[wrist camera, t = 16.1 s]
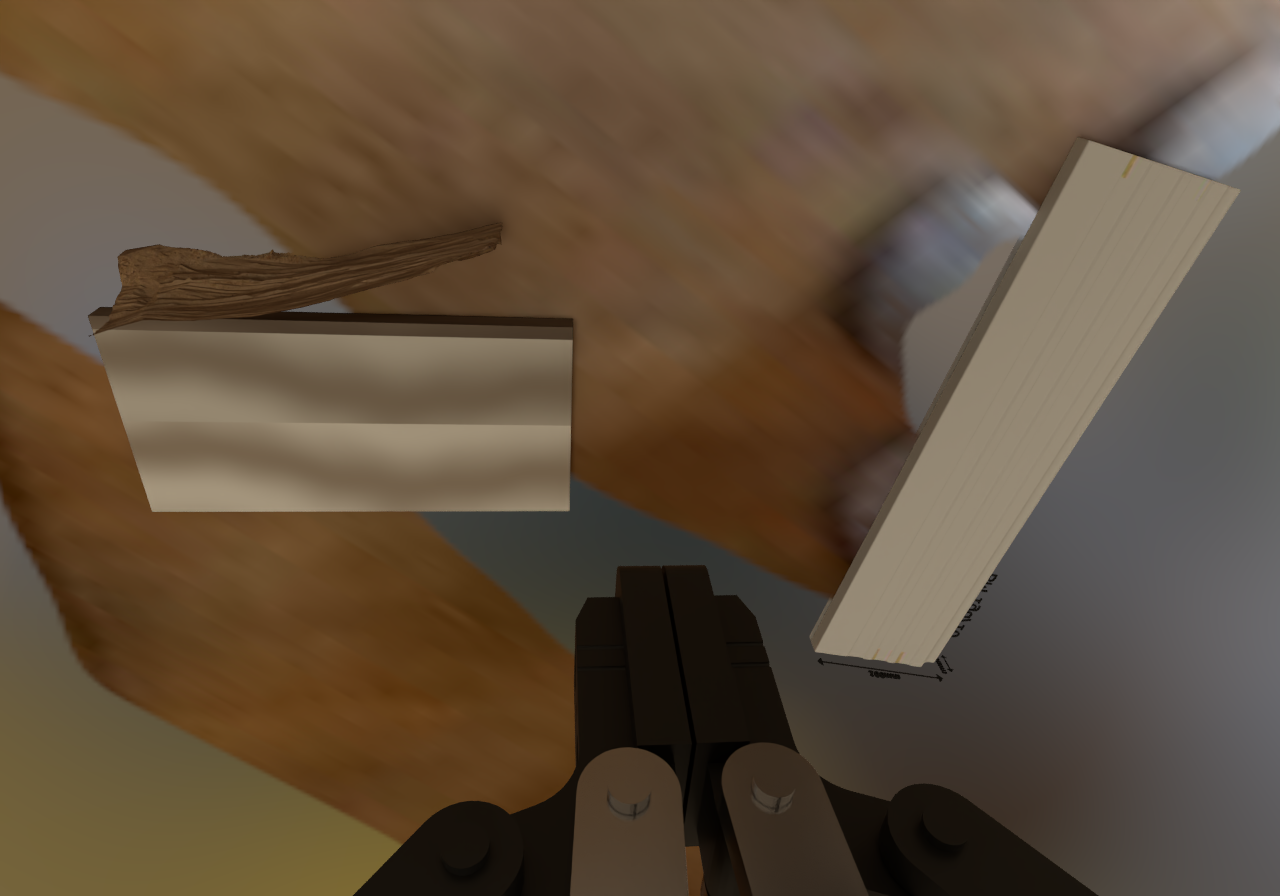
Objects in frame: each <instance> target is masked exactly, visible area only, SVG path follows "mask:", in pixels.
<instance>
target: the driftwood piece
mask: <svg viewBox="0 0 1280 896" xmlns="http://www.w3.org/2000/svg"><path fill="white" fill-rule="evenodd" d="M501 230H502V223H496V224H492V225H487V226H483V227H481V228H477V229H472V230H469V231H464V232H460V233H455V234H451V235H444V236H439V237H434V238H427V239H420V240H413V241H404V242H397V243H391V244H384V245H379V246H374V247H371V248H368V249H364V250H362V251H359V252H356V253H353V254H349V255H344V256H339V257H331V258H327V259H319V258H311V257H306V256H295V255H294V256H290V255H289V254H288V253H276V252H274V251H273V250H271V251H270V252H269V253H265V254H261V255H256V256H255V255H242V256H228V257H227V256H223V257H222V256H221V255H219V254H216V253H212V252H210V251H207V250H206V251H204V250H198V249H190V248H174V247H167V246H162V245H160V244H159V245H153V246H147V247H141V248H135V249H129V250H125V251H124V252H123V253H122V254H120V255H119V256H118V268H119V272H120V277H121V282H122V289H121V292H120V294H119V295H118V296H117V298H116V301H115V305H113V311H112V312H111V314H110V315H109V318H110V319H109V321H108V322H106V323H105V324H104V326H102V328H100V329H99V330H96V332H95V333H93V335H95V334H98V333H101V332H104V331H107V330H111V329H113V328H116V327H120V326H124V325H127V324H131V323H135V322H139V321H142V320H160V321H196V320H213V319H223V318H240V317H252V316H259V315H264V314H269V313H275V312H281V311H286V310H291V309H296V308H301V307H305V306H309V305H313V304H317V303H321V302H325V301H330V300H332V299H335V298H338V297H342V296H346V295H350V294H353V293H357V292H360V291H364V290H367V289H371V288H375V287H379V286H383V285H387V284H392V283H396V282H401V281H404V280H408V279H411V278H413V277H416V276H420V275H424V274H429V273H432V272H433V271H434V270H435V269H436V268H437V267H438V266H440V265H442V264H445V263H449V262H453V261H456V260H460V261H461V260H466V259H470V258H473V257H476V256H480V255H482V254H484V253H487V252H490V251H493V250H495V248H496V245H497V244H501V236H500V231H501ZM501 245H502V244H501ZM90 336H91V335H90Z"/></svg>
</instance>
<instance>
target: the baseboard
mask: <svg viewBox="0 0 1280 896" xmlns="http://www.w3.org/2000/svg"><path fill="white" fill-rule="evenodd" d="M1240 191H1241V190H1239V189H1236V188H1233V187H1230V186H1228V185H1224V184H1221V183H1218V182H1215V181H1212V180H1209V179H1206V178H1203V177H1200V176H1197V175H1194V174H1191V173H1188V172H1185V171H1182V170H1178V169H1175V168H1172V167H1169V166H1166V165H1163V164H1160V163H1157V162H1154V161H1151V160H1148V159H1145V158H1142V157H1139V156H1136V155H1133V154H1130V153H1127V152H1123V151H1120V150H1117V149H1114V148H1111V147H1108V146H1105V145H1102V144H1099V143H1096V142H1093V141H1090V140H1086V139H1083V138H1080V137H1077V139H1076V141H1075V143H1074V145H1073V147H1072V149H1071V151H1070V152H1069V154H1068V156H1067V158H1066V160H1065V162H1064V164H1063V166H1062V168H1061V169H1060V171H1059V173H1058V175H1057V177H1056V179H1055V181H1054V183H1053V185H1052V186H1051V188H1050V190H1049V192H1048V194H1047V196H1046V198H1045V200H1044V202H1043V203H1042V205H1041V207H1040V209H1039V211H1038V213H1037V215H1036V217H1035V218H1034V220H1033V222H1032V224H1031V226H1030V228H1029V230H1028V232H1027V234H1026V235H1025V237H1024V238H1018V240H1017V242H1016V244H1015V246H1014V247H1013V249H1012V251H1011V253H1010V255H1009V257H1008V259H1007V261H1006V263H1005V265H1004V266H1003V268H1002V271H1001V272H1000V274H999V276H998V278H997V280H996V282H995V284H994V285H993V287H992V289H991V291H990V293H989V295H988V297H987V299H986V301H985V303H984V305H983V306H982V308H981V310H980V312H979V314H978V316H977V318H976V320H975V322H974V324H973V326H972V327H971V329H970V331H969V333H968V335H967V337H966V339H965V341H964V343H963V345H962V346H961V348H960V350H959V352H958V354H957V356H956V358H955V360H954V362H953V364H952V365H951V367H950V369H949V371H948V373H947V375H946V377H945V379H944V381H943V383H942V385H941V386H940V388H939V390H938V392H937V394H936V396H935V398H934V400H933V402H932V404H931V406H930V407H929V409H928V411H927V413H926V415H925V417H924V419H923V421H922V423H921V424H920V426H919V428H918V430H917V433H918V434H919V435H920V436H919V438H918V439H917V441H916V443H915V445H914V447H913V449H912V451H911V453H910V455H909V456H908V458H907V460H906V462H905V464H904V466H903V468H902V470H901V472H900V473H899V475H898V477H897V479H896V481H895V483H894V485H893V487H892V489H891V490H890V492H889V494H888V496H887V498H886V500H885V502H884V504H883V506H882V507H881V509H880V511H879V513H878V515H877V517H876V519H875V521H874V523H873V524H872V526H871V528H870V530H869V532H868V534H867V536H866V538H865V540H864V541H863V543H862V545H861V547H860V549H859V551H858V553H857V555H856V557H855V558H854V560H853V562H852V564H851V566H850V568H849V570H848V572H847V574H846V575H845V577H844V579H843V581H842V583H841V585H840V587H839V589H838V591H837V592H836V594H835V596H834V598H833V600H832V599H829V600H828V602H827V604H826V605H825V607H824V609H823V611H822V613H821V615H820V617H819V619H818V621H817V623H816V624H815V626H814V628H813V630H812V632H811V634H810V636H809V637H810V640H811V643H812V645H813V648H814V650H815V651H816V652H820V653H828V654H834V655H841V656H855V657H862V658H863V659H868V660H871V659H875V660H882V661H887V662H889V663H895V662H897V663H903V664H909V665H910V666H917V667H921V666H922V665H923V664H924V663H925V662H935V660H937V661H936V662H937V664H938V666H939V667H940V669H941V670H942V673H945V674H947V672H943V671H946V670H943V669H944V668H943V666H942V664H941V662H940V661H939V658H938V656H939V654H940V653H941V651H942V649H943V648H944V646H945V645H946V643H947V642H948V640H949V639H950V637H958V636H959V635H960V633H959V632H958V631H956V630H955V629H956V628H961V629H960V630H963V628H964V627H965V625H963V626H958V625H959V623H960V622H964V621H971V619H969V618H970V617H971V616H972V612H970V611H978V610H979V609H980V607H981V606H978V608H977V606H976V605H975V604H972V603H973V602H974V601H976V602H978V604H980V602H981V601H982V598H980V600H978V599H976V597H977V596H978V594H979V593H980V591H982V592H987V590H983V588H986V586H985V584H988V585H992V583H989V582H993V581H994V580H995V579H996V578H997V576H998V575H996V574H992V573H993V571H994V569H995V568H996V566H997V565H998V563H999V561H1000V560H1001V559H1002V557H1003V555H1004V554H1005V552H1006V551H1007V549H1008V548H1009V546H1010V544H1011V543H1012V542H1013V540H1014V539H1015V537H1016V536H1017V534H1018V533H1019V531H1020V529H1021V528H1022V526H1023V524H1024V523H1025V522H1026V520H1027V519H1028V517H1029V516H1030V514H1031V513H1032V511H1033V509H1034V507H1035V506H1036V505H1037V503H1038V502H1039V500H1040V499H1041V497H1042V496H1043V494H1044V492H1045V491H1046V489H1047V488H1048V486H1049V485H1050V483H1051V482H1052V480H1053V479H1054V477H1055V475H1056V474H1057V472H1058V471H1059V469H1060V467H1061V466H1062V465H1063V463H1064V462H1065V460H1066V459H1067V457H1068V456H1069V454H1070V452H1071V451H1072V449H1073V448H1074V446H1075V445H1076V443H1077V442H1078V440H1079V439H1080V437H1081V436H1082V434H1083V432H1084V431H1085V429H1086V428H1087V426H1088V425H1089V423H1090V422H1091V420H1092V418H1093V417H1094V415H1095V414H1096V412H1097V411H1098V409H1099V408H1100V406H1101V404H1102V403H1103V402H1104V400H1105V398H1106V397H1107V396H1108V394H1109V392H1110V391H1111V389H1112V388H1113V386H1114V385H1115V383H1116V382H1117V380H1118V379H1119V377H1120V375H1121V374H1122V372H1123V371H1124V369H1125V368H1126V366H1127V365H1128V363H1129V362H1130V360H1131V359H1132V357H1133V356H1134V354H1135V352H1136V351H1137V349H1138V348H1139V346H1140V345H1141V343H1142V342H1143V340H1144V339H1145V337H1146V335H1147V334H1148V332H1149V331H1150V329H1151V328H1152V326H1153V325H1154V323H1155V322H1156V320H1157V318H1158V317H1159V315H1160V314H1161V312H1162V311H1163V309H1164V308H1165V306H1166V305H1167V303H1168V301H1169V300H1170V299H1171V297H1172V295H1173V294H1174V292H1175V291H1176V289H1177V288H1178V286H1179V285H1180V283H1181V282H1182V280H1183V279H1184V277H1185V276H1186V274H1187V272H1188V271H1189V269H1190V268H1191V266H1192V265H1193V263H1194V262H1195V260H1196V259H1197V257H1198V255H1199V254H1200V252H1201V251H1202V249H1203V248H1204V246H1205V245H1206V243H1207V241H1208V240H1209V239H1210V237H1211V235H1212V234H1213V232H1214V231H1215V229H1216V228H1217V226H1218V225H1219V223H1220V222H1221V220H1222V218H1223V217H1224V215H1225V214H1226V212H1227V211H1228V209H1229V208H1230V206H1231V205H1232V203H1233V202H1234V200H1235V198H1236V197H1237V195H1238V194H1239V192H1240ZM991 576H994V578H993V579H992V580H990V577H991ZM987 580H988V581H989V582H987ZM970 606H975V607H974V608H973V609H970ZM976 608H977V609H976ZM968 610H969V611H968ZM966 613H969V614H970V615H969V616H965V614H966ZM963 618H968V619H963ZM962 619H963V620H962ZM954 632H955V633H958V634H957V635H952V634H953V633H954ZM941 657H942V658H944V660H945V658H946V657H945V656H943V655H942V656H941ZM818 662H819V663H821V664H822V665H823V662H824V663H832V662H825V661H822V659H821V658H820V659H819V660H818ZM938 662H939V663H938ZM945 662H946V660H945ZM832 664H839V663H832ZM946 664H947V662H946ZM839 665H846V664H839ZM947 665H948V664H947ZM846 666H853V665H846ZM853 667H859V666H853ZM948 667H949V665H948ZM860 668H866V667H860ZM867 669H874V668H867ZM874 670H881V669H874ZM948 670H949V671H951V672H952V669H950V667H949V669H948ZM881 671H888V670H881ZM868 672H870V676H872V677H873V676H874V675H875V676H876V677H877V678H879V677H881V678H885V677H887V678H889V677H890V678H892V677H893V678H894V679H900V675H897V674H895V676H894V674H891V673H890V674H889V673H887V674H886V673H883V672H880V673H878V672H877V671H875V672H874V675H873V671H870V670H869V671H868ZM888 672H895V671H888ZM895 673H902V672H895ZM903 674H909V673H903ZM882 675H883V676H882ZM909 675H916V676H923V675H917V674H909ZM897 676H898V677H897ZM923 677H930V676H923ZM930 678H937V679H939V681H940V682H941V681H942V679H943V678H941V677H940V676H939V675H937V677H930Z"/></svg>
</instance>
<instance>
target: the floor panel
mask: <svg viewBox="0 0 1280 896" xmlns="http://www.w3.org/2000/svg"><path fill="white" fill-rule="evenodd" d="M112 311H113V307H100V308H98V309H97V310H95V311H94V312H92V313H91V314H90V315H88V318H89V321H90V324H91V327H92V330H93V333H95V332H96V330H99V329H100V328H102V326H104V324H105V323H106V322H108V321H109V319H110V318H109V315H110V314H111V312H112ZM94 336H95V339H96V342H97V345H98V348H99V351H100V354H101V357H102V360H103V363H104V366H105V369H106V372H107V375H108V378H109V382H110V385H111V388H112V391H113V394H114V397H115V400H116V403H117V406H118V409H119V412H120V415H121V418H122V421H123V424H124V427H125V430H126V433H127V436H128V439H129V442H130V445H131V448H132V451H133V454H134V458H135V461H136V464H137V467H138V470H139V473H140V476H141V479H142V482H143V485H144V488H145V491H146V494H147V497H148V500H149V503H150V506H151V509H152V512H264V511H569V506H570V504H569V503H570V502H569V501H570V452H571V398H572V344H573V320H572V319H555V318H515V317H476V316H436V315H397V314H358V313H318V312H316V313H315V312H275V313H269V314H264V315H259V316H252V317H240V318H223V319H213V320H196V321H160V320H142V321H139V322H135V323H131V324H127V325H124V326H120V327H116V328H113V329H111V330H107V331H104V332H101V333H98V334H95V335H94Z"/></svg>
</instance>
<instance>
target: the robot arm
mask: <svg viewBox="0 0 1280 896" xmlns="http://www.w3.org/2000/svg"><path fill="white" fill-rule="evenodd" d="M575 631H576V632H575V666H574V705H575V753H576V768H575V770H574V773H573V775H572V776H571V778H570V779H569V781H568V782H567V783H566V785H565V786H564V787H563V788H562V789H561V790H560V791H559V792H557V793H556V794H555V795H554V796H552V797H551V798H549V799H548V800H546V801H544V802H542V803H539V804H537V805H535V806H532V807H529V808H527V809H524V810H521V811H519V812H516V813H513V814H511V815H510V814H508V813H507V812H506V811H505V810H503V809H502V808H500V807H498V806H496V805H493V804H491V803H487V802H482V801H466V802H460V803H456V804H453V805H450V806H448V807H446V808H444V809H442V810H440V811H438V812H437V813H435V814H434V815H432V816H431V817H430V818H429V819H428V820H427V821H426V822H425V823H424V824H423V825H422V826H421V827H420V828H419V829H418V830H417V831H416V832H415V833H414V834H413V835H412V836H411V837H410V838H409V839H408V840H407V841H406V842H405V843H404V844H403V845H402V846H401V847H400V848H399V849H398V850H397V851H396V852H395V853H394V854H393V855H392V856H391V857H390V858H389V859H388V860H387V862H385V863H384V864H383V866H382V867H381V868H380V869H379V870H378V871H377V872H376V873H375V874H374V875H373V876H372V877H371V878H370V879H369V880H368V881H367V882H366V883H365V884H364V885H363V886H362V887H361V888H360V889H359V890H358V891H357V892H356V893H355V894H354V895H353V896H688V882H687V867H686V852H685V847H688V846H699V847H700V853H701V860H702V866H703V872H704V873H703V879H702V884H701V891H700V896H1098V895H1096V894H1095V893H1094V892H1093V891H1091V890H1090V889H1089V888H1087V887H1086V886H1084V885H1083V884H1082V883H1080V882H1079V881H1078V880H1076V879H1075V878H1074V877H1072V876H1071V875H1069V874H1068V873H1067V872H1065V871H1064V870H1063V869H1061V868H1060V867H1058V866H1057V865H1056V864H1054V863H1053V862H1052V861H1050V860H1049V859H1048V858H1046V857H1045V856H1044V855H1042V854H1041V853H1040V852H1038V851H1037V850H1035V849H1034V848H1033V847H1031V846H1030V845H1029V844H1027V843H1026V842H1024V841H1023V840H1022V839H1020V838H1019V837H1018V836H1016V835H1015V834H1014V833H1012V832H1011V831H1010V830H1008V829H1007V828H1005V827H1004V826H1003V825H1001V824H1000V823H999V822H997V821H996V820H995V819H993V818H992V817H990V816H989V815H988V814H986V813H985V812H984V811H982V810H981V809H979V808H978V807H977V806H975V805H974V804H973V803H971V802H970V801H969V800H967V799H966V798H964V797H963V796H961V795H959V794H958V793H956V792H953V791H952V790H950V789H947V788H944V787H941V786H937V785H933V784H914V785H911V786H907V787H905V788H903V789H902V790H900V791H899V792H898V793H897V794H895V796H894V797H893V799H892V800H891V802H890V801H886V800H883V799H879V798H875V797H872V796H868V795H864V794H860V793H856V792H853V791H849V790H846V789H843V788H840V787H838V786H836V785H834V784H832V783H830V782H828V781H827V780H825V779H823V778H822V777H820V776H819V775H818V773H817V772H816V770H815V769H814V767H813V766H812V765H811V764H810V763H809V762H808V761H807V760H806V759H805V758H804V757H802V756H801V755H800V754H799V752H798V750H797V748H796V746H795V743H794V740H793V737H792V734H791V731H790V727H789V724H788V721H787V718H786V714H785V712H784V708H783V705H782V702H781V698H780V695H779V692H778V688H777V685H776V682H775V679H774V675H773V672H772V669H771V667H769V659H768V656H767V653H766V650H765V647H764V646H763V640H762V637H761V633H760V630H759V627H758V624H757V620H756V617H755V616H754V615H753V613H752V612H751V611H750V610H749V609H748V608H747V607H746V605H745V604H744V603H743V602H742V601H741V600H740V599H739V597H738V596H737V595H723V596H721V595H720V596H714V594H713V591H712V586H711V583H710V578H709V575H708V571H707V568H706V566H705V565H686V566H683V565H682V566H681V565H680V566H662V569H661V567H660V566H619V567H618V568H617V575H616V592H615V597H594V598H587V600H586V602H585V604H584V606H583V607H582V609H581V611H580V613H579V615H578V617H577V619H576V630H575Z"/></svg>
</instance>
